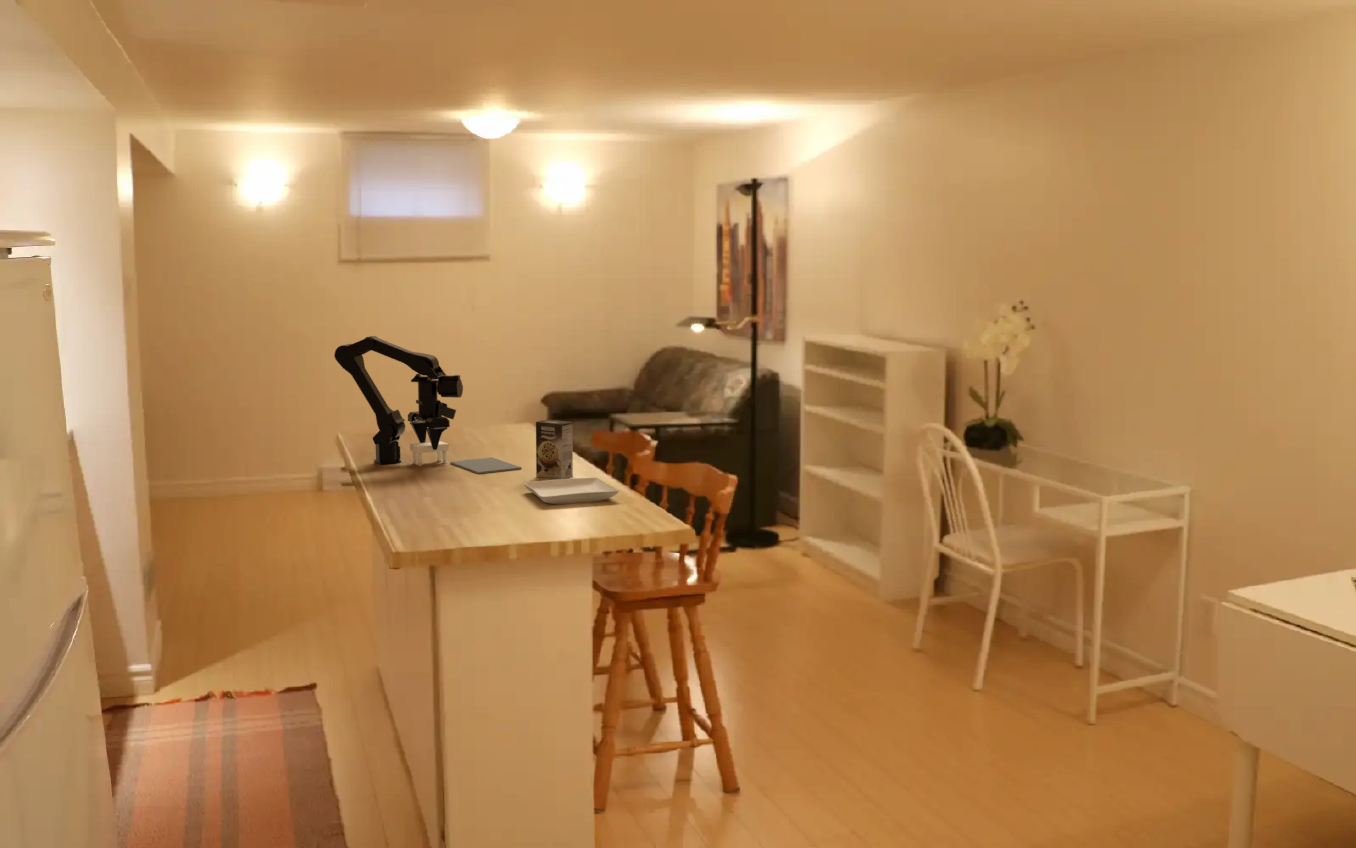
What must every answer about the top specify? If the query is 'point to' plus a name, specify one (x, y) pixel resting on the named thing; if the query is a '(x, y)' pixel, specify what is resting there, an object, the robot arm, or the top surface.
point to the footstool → (427, 448)
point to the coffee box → (554, 449)
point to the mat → (485, 465)
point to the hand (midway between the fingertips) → (429, 447)
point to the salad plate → (571, 490)
